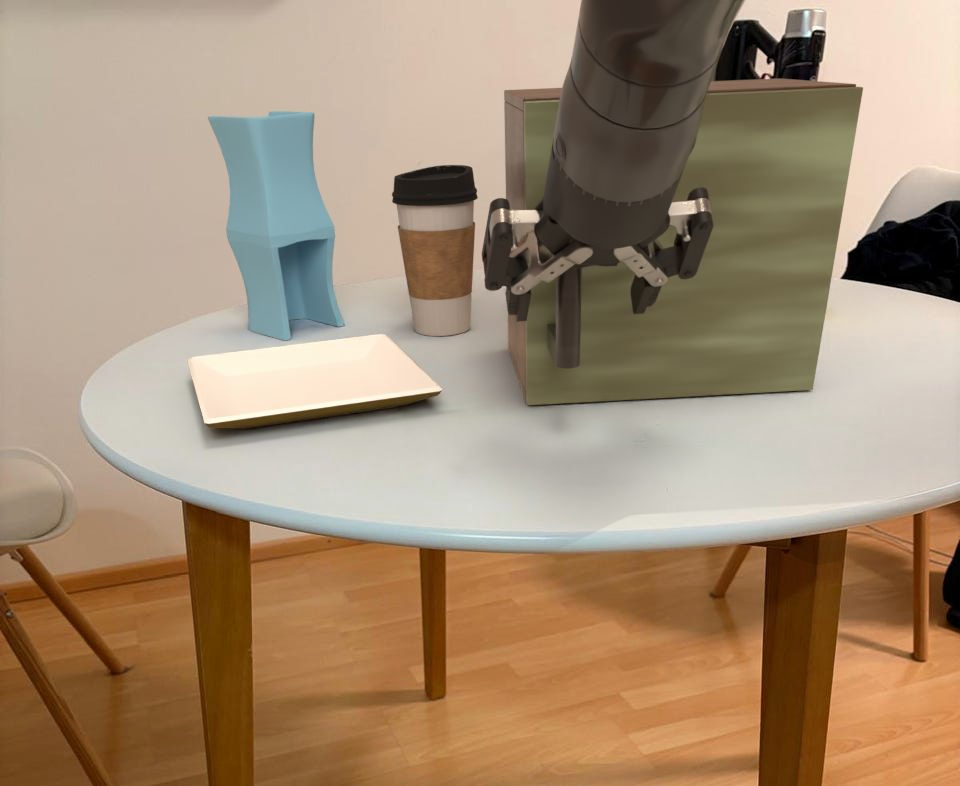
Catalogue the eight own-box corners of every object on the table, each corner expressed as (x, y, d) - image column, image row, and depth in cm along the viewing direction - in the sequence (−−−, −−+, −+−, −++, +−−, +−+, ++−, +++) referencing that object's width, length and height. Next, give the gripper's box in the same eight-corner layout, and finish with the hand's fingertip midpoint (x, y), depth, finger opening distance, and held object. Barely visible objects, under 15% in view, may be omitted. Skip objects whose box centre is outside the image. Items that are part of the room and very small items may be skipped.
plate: (191, 379, 84) (186, 356, 82) (387, 354, 88) (386, 332, 87) (209, 447, 69) (204, 421, 68) (445, 412, 74) (443, 387, 72)
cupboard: (807, 387, 76) (856, 84, 64) (525, 402, 75) (523, 98, 63) (747, 336, 89) (780, 78, 77) (508, 349, 88) (504, 90, 77)
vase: (302, 314, 103) (275, 110, 92) (345, 325, 98) (321, 112, 88) (242, 328, 99) (206, 116, 88) (284, 340, 94) (251, 118, 83)
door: (841, 414, 70) (902, 90, 58) (535, 431, 69) (534, 106, 57) (808, 386, 75) (857, 86, 64) (525, 401, 75) (523, 101, 63)
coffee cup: (498, 326, 96) (495, 167, 87) (439, 344, 91) (429, 176, 83) (445, 314, 101) (436, 162, 93) (385, 330, 96) (371, 171, 88)
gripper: (738, 75, 51) (667, 255, 67) (486, 86, 50) (475, 266, 66) (759, 191, 49) (681, 347, 65) (500, 205, 49) (484, 360, 64)
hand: (577, 306), depth 66 cm, fingers open, 8 cm apart
